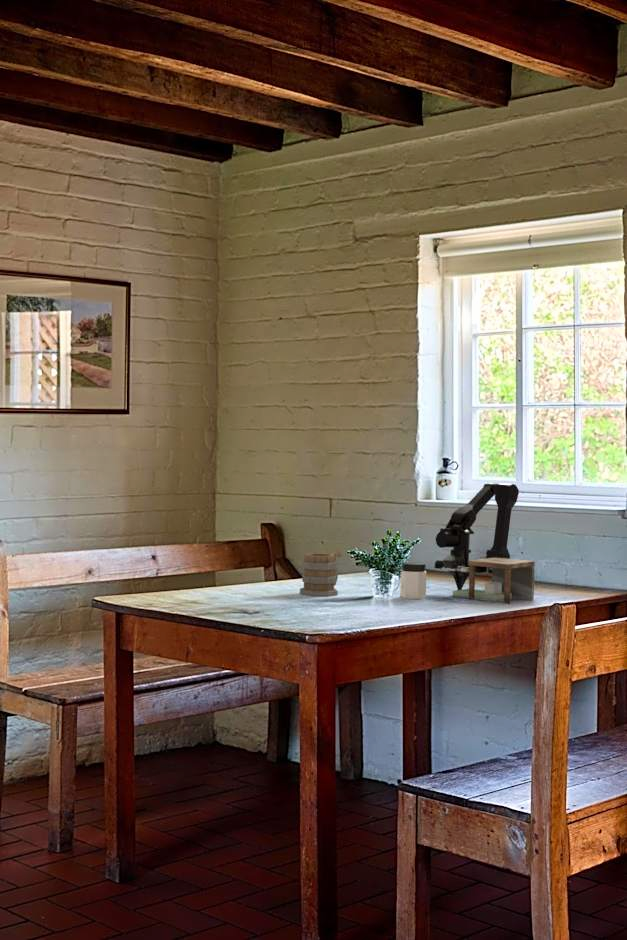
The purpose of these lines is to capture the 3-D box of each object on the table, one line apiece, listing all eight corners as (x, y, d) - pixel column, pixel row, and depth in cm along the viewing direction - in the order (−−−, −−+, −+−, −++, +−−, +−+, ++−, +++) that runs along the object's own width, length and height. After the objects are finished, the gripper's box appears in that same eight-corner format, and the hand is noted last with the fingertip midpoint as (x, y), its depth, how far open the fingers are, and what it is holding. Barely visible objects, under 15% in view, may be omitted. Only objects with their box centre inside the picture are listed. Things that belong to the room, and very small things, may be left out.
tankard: (322, 597, 440) (323, 554, 440) (293, 594, 448) (294, 551, 447) (355, 592, 456) (356, 550, 456) (327, 589, 464) (328, 548, 463)
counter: (493, 595, 458) (494, 557, 458) (533, 599, 448) (534, 561, 448) (467, 599, 444) (468, 560, 443) (508, 604, 434) (509, 564, 434)
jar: (397, 596, 449) (398, 562, 449) (418, 595, 451) (419, 561, 451) (406, 599, 440) (407, 564, 440) (428, 599, 443) (429, 564, 442)
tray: (467, 593, 460) (468, 578, 460) (511, 598, 448) (512, 583, 448) (452, 596, 452) (453, 580, 452) (497, 601, 441) (497, 585, 440)
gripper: (426, 545, 455) (425, 589, 456) (471, 550, 444) (470, 595, 444) (443, 544, 464) (442, 587, 464) (488, 548, 452) (486, 592, 453)
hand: (459, 590), depth 456 cm, fingers closed
